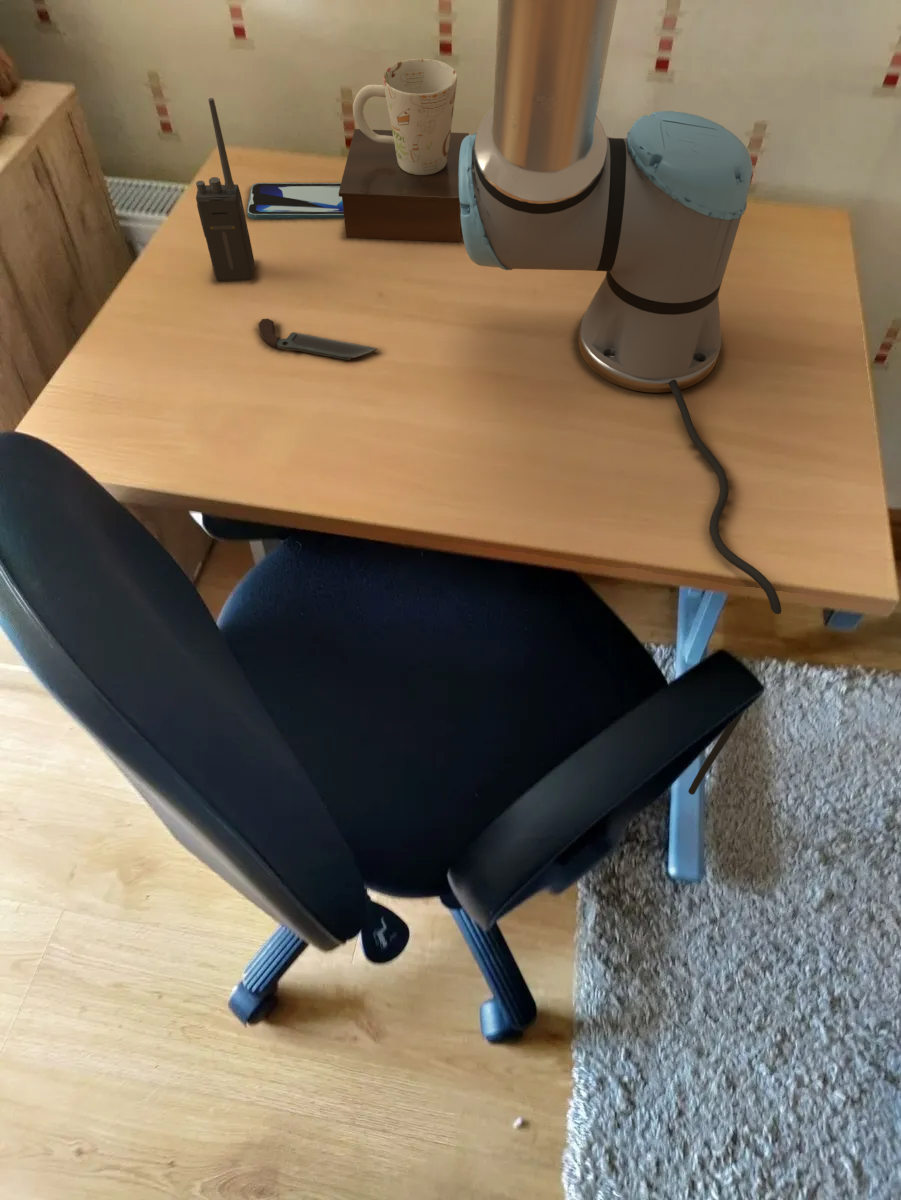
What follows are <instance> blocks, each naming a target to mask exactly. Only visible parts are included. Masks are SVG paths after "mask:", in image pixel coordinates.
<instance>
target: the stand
mask: <svg viewBox="0 0 901 1200" xmlns="http://www.w3.org/2000/svg"><path fill="white" fill-rule="evenodd" d="M372 130H373V131H374V132H375V133H376V134H378V135H385V136H393V133H392V129H372ZM468 135H470V133H469V132H451V134H450V142H449V150H448V158H447V163H446V166H445V167H444V168H443V169H442V170H440V171H439V172H436V173H433V174H429V175H415V174H411V173H408V172H406V171H404V170H402V169H401V168H400V166H399V164H398V161H397V156H396V150H395V144H385V143H378V142H375V141H373V140H372V139H370V138H369V137H367V136H366V135H365V134H364V133H363V132H362V131H361V130H360V129H359V128H354V130H353V133H352V138H351V142H350V145H349V149H348V154H347V157H346V162H345V166H344V170H343V173H342V178H341V182H340V183H341V185H340V189H339V197H342V202H343V211H344V218H343V220H344V229H345V237H346V238H350V239H351V238H352V239H372V240H373V239H374V240H375V239H376V240H377V239H378V240H397V241H398V240H399V241H400V240H401V241H420V242H421V241H423V242H424V241H425V242H446V243H447V242H448V243H449V242H450V243H459V242H460V237H461V229H462V227H461V217H460V214H461V209H460V200H459V177H458V175H459V153H460V147H461V143H462V141H463V139H464V138H465V137H466V136H468Z"/></svg>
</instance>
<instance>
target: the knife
mask: <svg viewBox="0 0 901 1200" xmlns="http://www.w3.org/2000/svg"><path fill="white" fill-rule="evenodd" d="M258 330H259V331H258V332H259V333H260V335H261V337H262V340H263V342H265V343H266V344H267V345H269V346H271V347H274V348H279V349H282V350H285V351H286V350H287V351H299V352H304V353H308V354H309V353H310V354H315V355H319V356H320V355H321V356H325V357H329V358H330V357H331V358H334V359H341V360H346V361H348V360H351V359H355V358H359V357H362V356H364V355H368V354H371V353H372V352H374V351H376V350H378V347H373V346H369V345H364V344H358V343H353V342H348V341H343V340H337V339H331V338H327V337H322V336H316V335H311V334H307V333H306V334H305V333H300V332H290V333H289V335H288V337H286V338H280V337H279V336H277V335H276V334H275V322H274V321H273V320H272V319H269V318H262V319H260V322H258Z"/></svg>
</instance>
